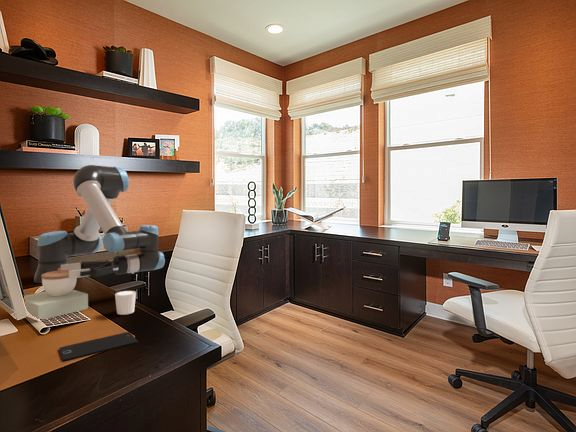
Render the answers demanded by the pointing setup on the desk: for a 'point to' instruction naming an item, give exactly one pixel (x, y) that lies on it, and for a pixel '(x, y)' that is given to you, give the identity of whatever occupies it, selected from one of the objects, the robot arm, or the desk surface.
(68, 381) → the desk surface
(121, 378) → the desk surface
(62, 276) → the lidded jar
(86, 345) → the cell phone
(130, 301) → the white tapered cup
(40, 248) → the robot arm
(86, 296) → the sage box
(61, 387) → the desk surface
